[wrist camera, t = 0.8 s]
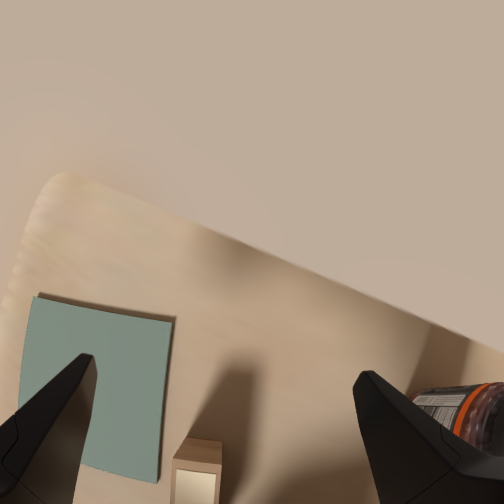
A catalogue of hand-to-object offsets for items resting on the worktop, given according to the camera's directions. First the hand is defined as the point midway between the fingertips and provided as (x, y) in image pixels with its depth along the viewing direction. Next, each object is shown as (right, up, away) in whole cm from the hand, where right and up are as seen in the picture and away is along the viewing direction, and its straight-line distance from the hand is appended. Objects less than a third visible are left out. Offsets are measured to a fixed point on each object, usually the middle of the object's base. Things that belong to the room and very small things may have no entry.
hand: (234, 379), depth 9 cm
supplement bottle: (+14, -10, +10) cm, 20 cm away
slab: (-3, -12, +8) cm, 15 cm away
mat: (-11, -6, +9) cm, 16 cm away
